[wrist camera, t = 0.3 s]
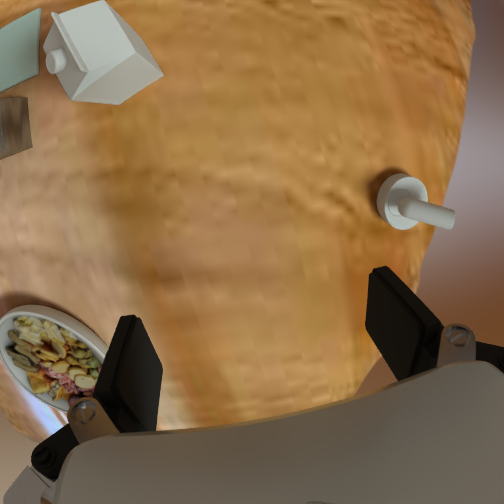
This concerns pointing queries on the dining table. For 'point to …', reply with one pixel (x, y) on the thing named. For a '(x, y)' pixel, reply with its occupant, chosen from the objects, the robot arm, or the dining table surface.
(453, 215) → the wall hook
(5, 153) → the post
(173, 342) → the dining table surface
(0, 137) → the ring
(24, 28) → the mat
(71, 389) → the bowl
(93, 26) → the milk carton
